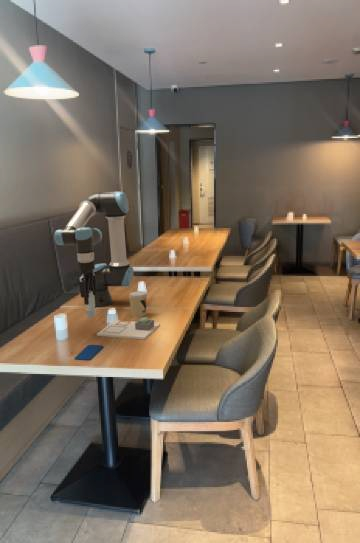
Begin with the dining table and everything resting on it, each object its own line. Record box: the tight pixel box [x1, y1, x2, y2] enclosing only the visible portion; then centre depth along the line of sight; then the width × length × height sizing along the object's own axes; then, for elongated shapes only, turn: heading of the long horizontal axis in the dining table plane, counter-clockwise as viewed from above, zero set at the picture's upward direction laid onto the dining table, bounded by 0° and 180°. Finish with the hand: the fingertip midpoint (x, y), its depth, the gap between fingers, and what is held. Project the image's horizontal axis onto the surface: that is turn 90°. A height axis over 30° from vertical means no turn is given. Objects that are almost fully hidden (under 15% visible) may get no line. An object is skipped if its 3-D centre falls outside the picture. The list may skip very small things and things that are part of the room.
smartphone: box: [74, 344, 104, 361], centre depth 190 cm, size 7×1×15 cm
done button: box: [139, 316, 150, 323], centre depth 216 cm, size 4×4×3 cm
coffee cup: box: [128, 290, 148, 318], centre depth 239 cm, size 9×9×12 cm
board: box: [96, 318, 160, 340], centre depth 216 cm, size 24×20×4 cm
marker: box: [86, 290, 95, 319], centre depth 213 cm, size 4×4×13 cm
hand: (90, 309), depth 214 cm, fingers closed on marker, 3 cm apart
